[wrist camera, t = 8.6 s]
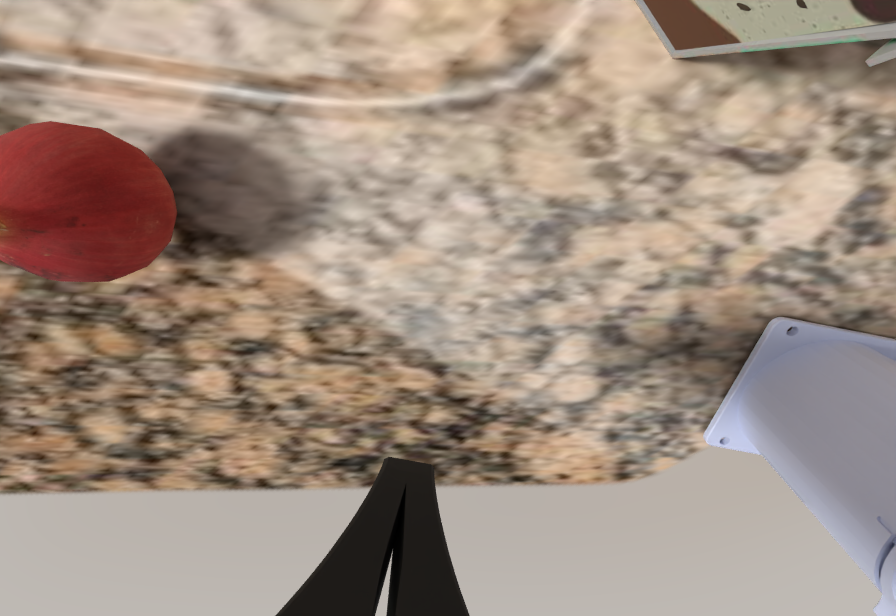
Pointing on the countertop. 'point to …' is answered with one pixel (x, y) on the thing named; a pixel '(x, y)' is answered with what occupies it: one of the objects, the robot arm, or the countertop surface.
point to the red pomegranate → (80, 203)
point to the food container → (769, 25)
